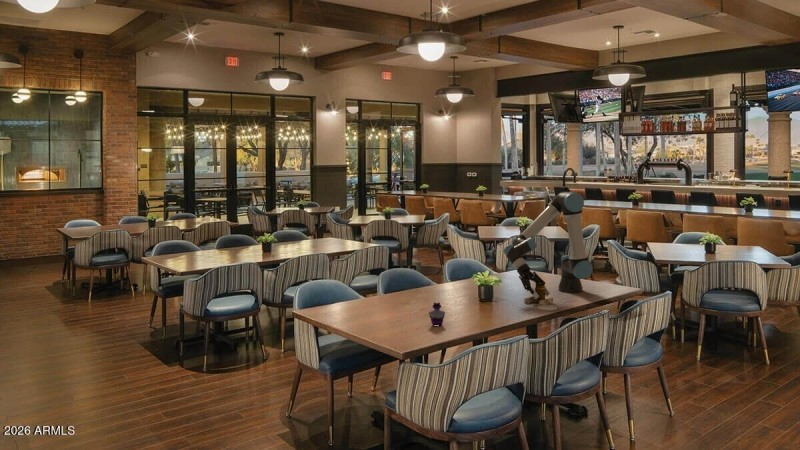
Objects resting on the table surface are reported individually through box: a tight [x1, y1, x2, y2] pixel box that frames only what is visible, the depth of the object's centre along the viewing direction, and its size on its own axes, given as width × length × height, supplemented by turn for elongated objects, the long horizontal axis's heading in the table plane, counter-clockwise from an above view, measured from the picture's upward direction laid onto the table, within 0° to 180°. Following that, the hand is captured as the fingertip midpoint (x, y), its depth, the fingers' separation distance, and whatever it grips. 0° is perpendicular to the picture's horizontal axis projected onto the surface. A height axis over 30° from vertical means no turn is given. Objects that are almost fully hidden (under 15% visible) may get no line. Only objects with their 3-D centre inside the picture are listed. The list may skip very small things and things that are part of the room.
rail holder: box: [523, 295, 554, 306], centre depth 376 cm, size 12×12×3 cm
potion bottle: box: [428, 301, 446, 326], centre depth 330 cm, size 9×9×12 cm
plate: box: [537, 304, 558, 311], centre depth 363 cm, size 11×11×1 cm
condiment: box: [530, 283, 546, 306], centre depth 376 cm, size 7×8×12 cm
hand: (542, 296), depth 374 cm, fingers open, 10 cm apart
